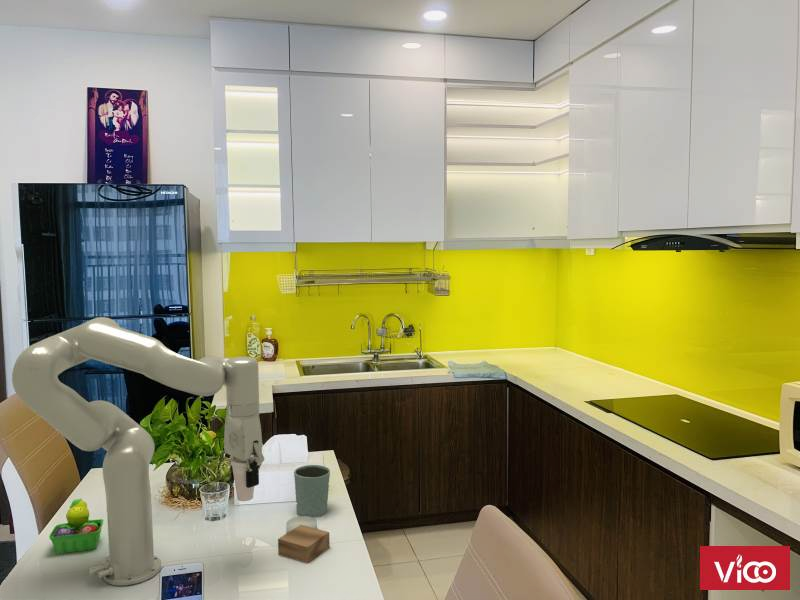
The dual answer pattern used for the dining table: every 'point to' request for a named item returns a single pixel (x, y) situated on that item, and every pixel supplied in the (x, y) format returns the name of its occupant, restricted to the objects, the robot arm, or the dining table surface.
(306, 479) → the grey-green hollow tall cylinder
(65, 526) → the fruit basket
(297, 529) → the walnut base
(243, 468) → the smoothie
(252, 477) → the robot arm
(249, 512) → the dining table surface
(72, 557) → the dining table surface
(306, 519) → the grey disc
